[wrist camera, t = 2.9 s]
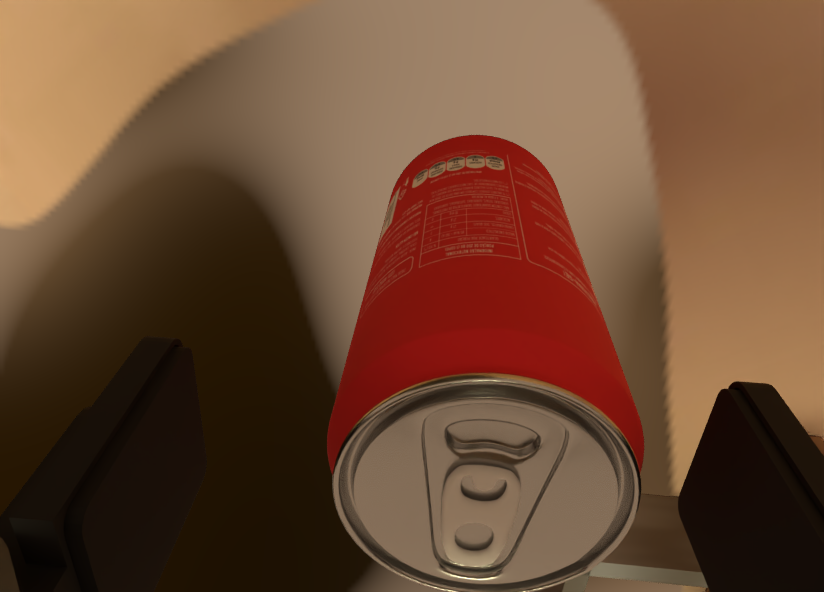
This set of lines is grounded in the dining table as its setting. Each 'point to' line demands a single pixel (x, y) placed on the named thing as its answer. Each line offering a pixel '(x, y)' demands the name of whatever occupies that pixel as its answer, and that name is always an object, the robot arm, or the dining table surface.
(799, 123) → the dining table surface
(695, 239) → the dining table surface
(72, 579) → the robot arm
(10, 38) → the dining table surface
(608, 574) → the can rack
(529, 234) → the beverage can
